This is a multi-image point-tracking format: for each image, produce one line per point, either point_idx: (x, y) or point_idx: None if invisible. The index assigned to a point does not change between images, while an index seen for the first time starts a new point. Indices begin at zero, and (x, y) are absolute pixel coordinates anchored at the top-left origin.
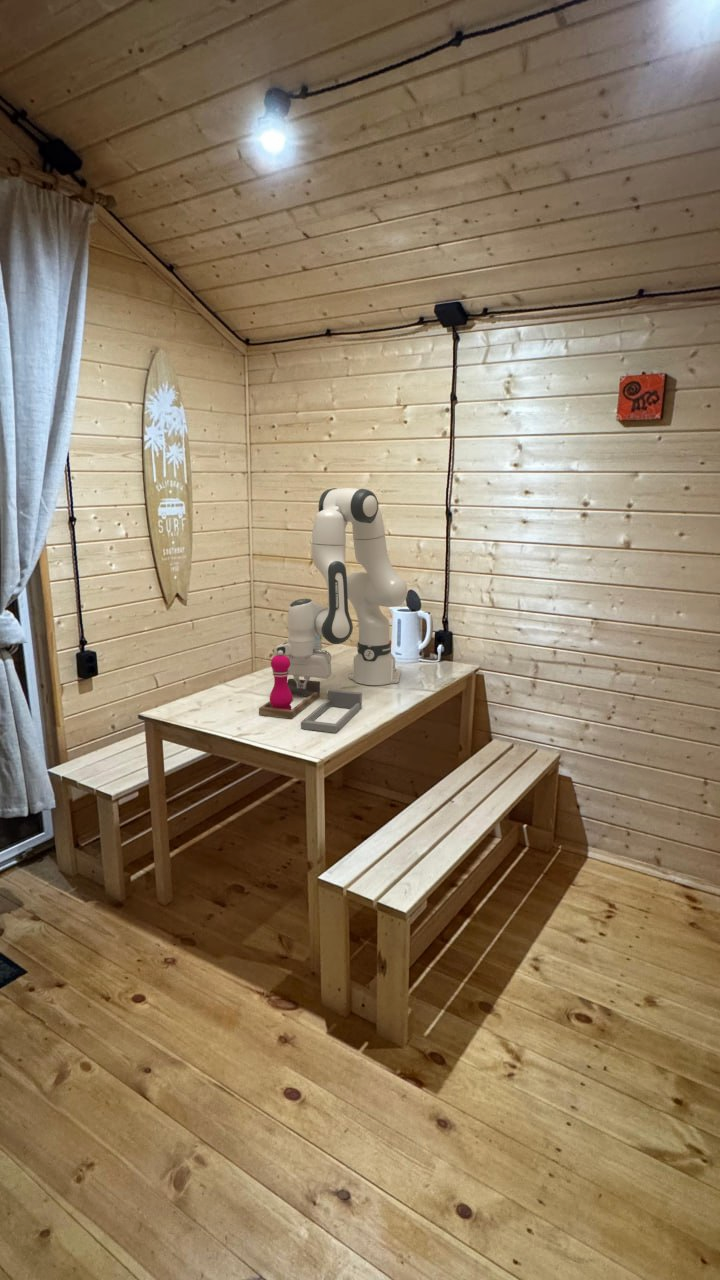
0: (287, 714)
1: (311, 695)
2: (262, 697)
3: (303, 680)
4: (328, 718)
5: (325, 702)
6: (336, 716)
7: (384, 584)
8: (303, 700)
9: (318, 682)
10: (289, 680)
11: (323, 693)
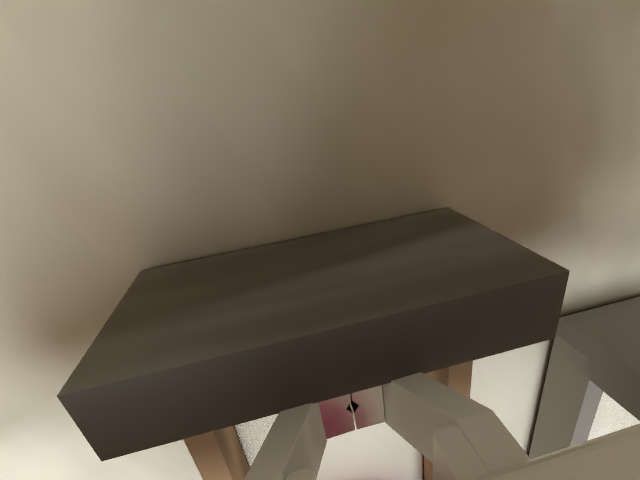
0: None
1: (459, 377)
2: (36, 460)
3: (332, 354)
4: None
5: (584, 418)
6: (611, 418)
7: None
8: None
9: (556, 311)
10: (137, 447)
11: (444, 107)
